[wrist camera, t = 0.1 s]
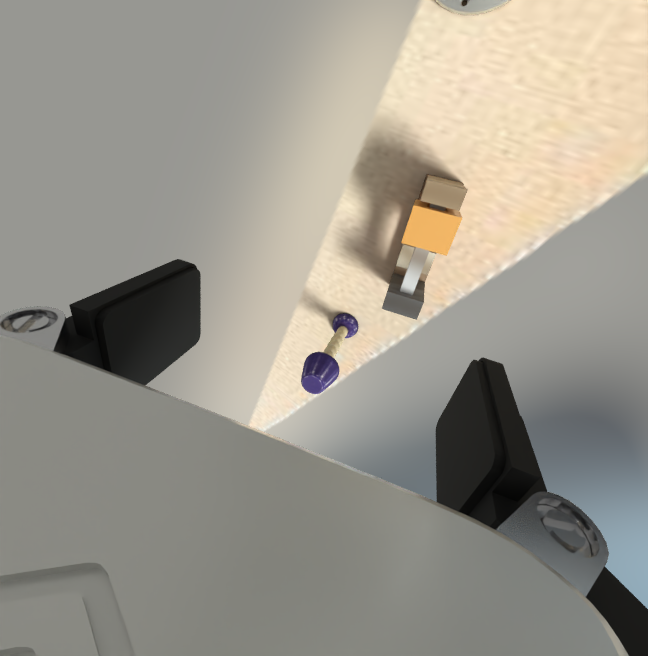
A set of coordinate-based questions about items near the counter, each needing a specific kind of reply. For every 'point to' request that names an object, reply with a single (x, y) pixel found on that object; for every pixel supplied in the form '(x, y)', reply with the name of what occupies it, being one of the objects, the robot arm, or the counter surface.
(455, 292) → the counter surface
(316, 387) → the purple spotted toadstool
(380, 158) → the counter surface
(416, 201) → the sleeve
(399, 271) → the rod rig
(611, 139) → the counter surface
